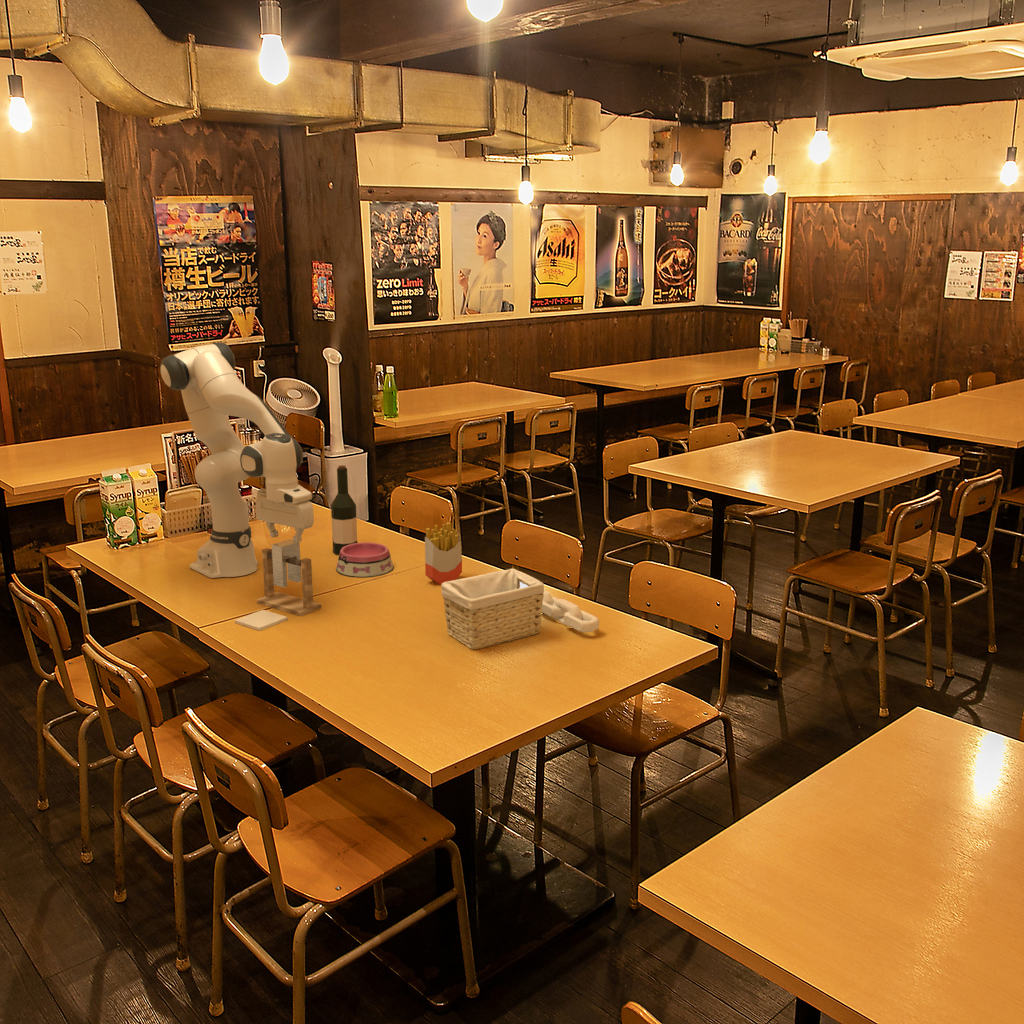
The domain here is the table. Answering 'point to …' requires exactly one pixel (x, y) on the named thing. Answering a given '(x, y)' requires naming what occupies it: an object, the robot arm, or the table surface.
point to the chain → (568, 613)
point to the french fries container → (443, 554)
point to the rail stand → (284, 600)
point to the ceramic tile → (261, 620)
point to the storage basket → (493, 607)
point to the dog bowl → (364, 560)
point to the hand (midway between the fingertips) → (285, 539)
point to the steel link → (279, 557)
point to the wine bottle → (343, 514)
